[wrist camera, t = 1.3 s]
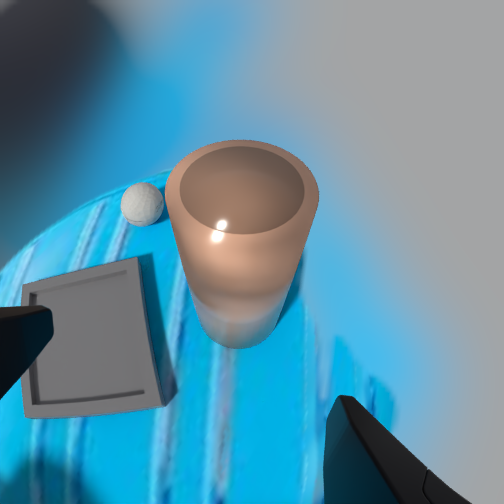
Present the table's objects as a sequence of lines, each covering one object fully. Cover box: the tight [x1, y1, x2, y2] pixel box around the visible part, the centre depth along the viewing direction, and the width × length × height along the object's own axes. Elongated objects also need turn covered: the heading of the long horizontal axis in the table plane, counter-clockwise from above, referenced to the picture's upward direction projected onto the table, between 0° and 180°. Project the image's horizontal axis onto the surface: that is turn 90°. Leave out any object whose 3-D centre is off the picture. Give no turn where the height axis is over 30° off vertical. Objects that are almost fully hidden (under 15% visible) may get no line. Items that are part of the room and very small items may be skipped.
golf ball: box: [121, 183, 164, 226], centre depth 25 cm, size 4×4×4 cm
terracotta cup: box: [165, 140, 319, 349], centre depth 17 cm, size 6×6×13 cm
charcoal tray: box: [21, 257, 166, 419], centre depth 19 cm, size 12×12×1 cm
